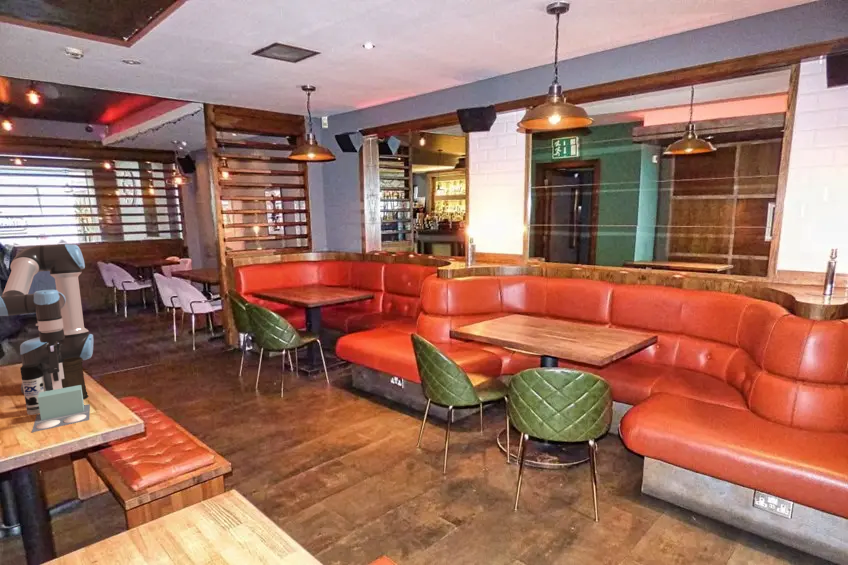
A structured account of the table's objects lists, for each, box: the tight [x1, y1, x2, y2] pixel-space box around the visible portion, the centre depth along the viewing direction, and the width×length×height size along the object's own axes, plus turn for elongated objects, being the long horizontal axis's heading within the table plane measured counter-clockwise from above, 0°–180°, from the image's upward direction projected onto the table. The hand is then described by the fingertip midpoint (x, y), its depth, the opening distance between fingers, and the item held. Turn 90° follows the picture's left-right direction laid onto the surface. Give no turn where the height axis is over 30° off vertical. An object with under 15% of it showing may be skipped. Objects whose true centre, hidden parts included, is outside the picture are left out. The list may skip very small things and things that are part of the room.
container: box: [60, 357, 89, 401], centre depth 199 cm, size 9×9×18 cm
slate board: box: [31, 403, 91, 433], centre depth 181 cm, size 18×17×7 cm
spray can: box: [19, 363, 46, 416], centre depth 187 cm, size 7×7×20 cm
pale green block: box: [38, 385, 85, 420], centre depth 185 cm, size 7×13×9 cm, turn 124°
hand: (58, 383), depth 184 cm, fingers open, 13 cm apart
